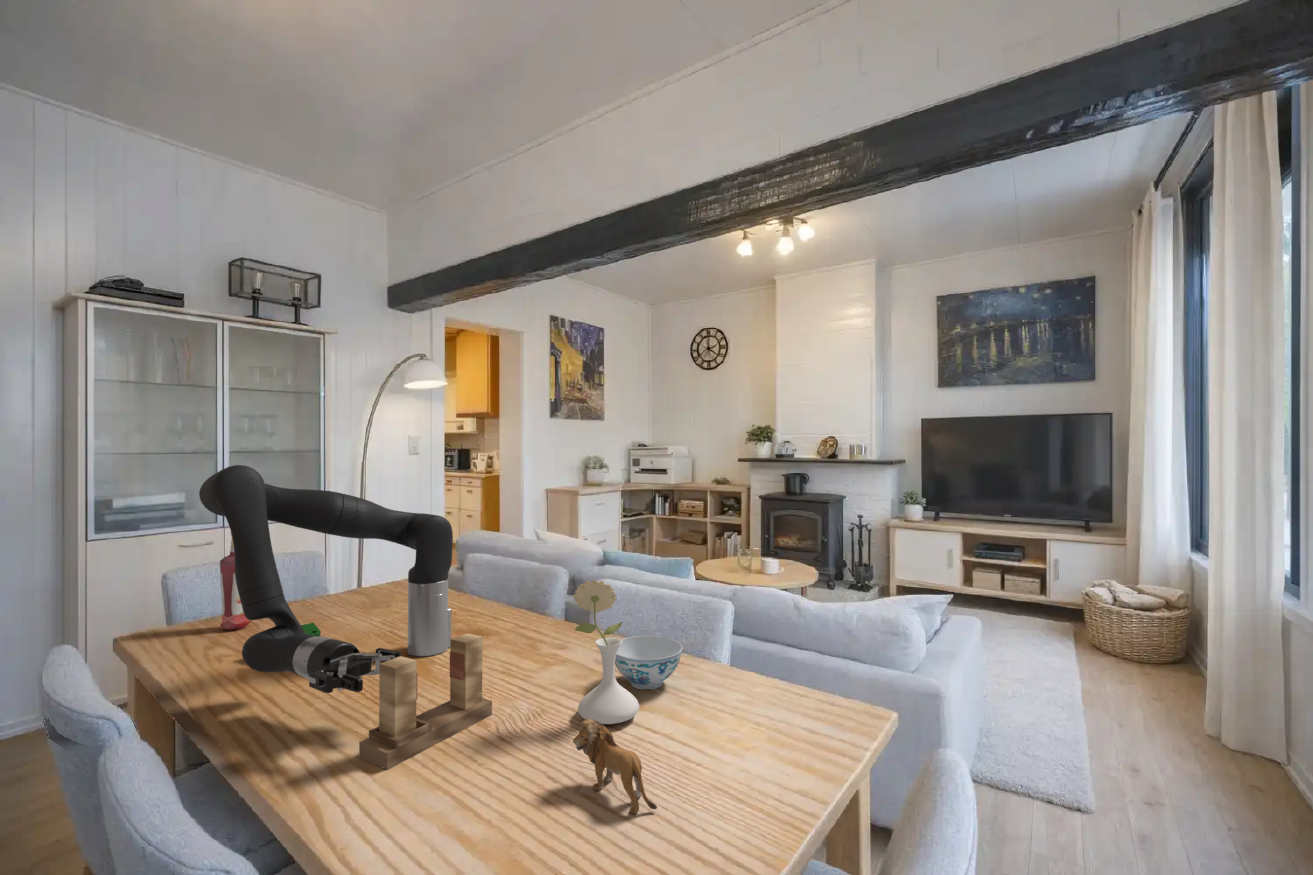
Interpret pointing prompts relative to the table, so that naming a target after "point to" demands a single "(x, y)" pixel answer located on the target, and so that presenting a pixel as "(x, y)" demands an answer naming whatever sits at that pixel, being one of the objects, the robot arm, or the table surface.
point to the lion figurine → (611, 760)
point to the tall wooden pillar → (397, 696)
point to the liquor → (231, 595)
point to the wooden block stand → (438, 710)
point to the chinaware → (647, 660)
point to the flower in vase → (604, 661)
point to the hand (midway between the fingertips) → (384, 676)
